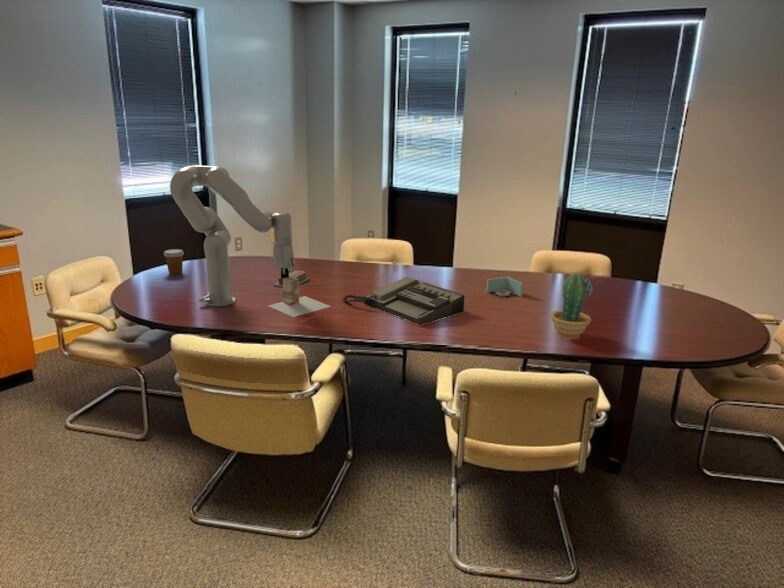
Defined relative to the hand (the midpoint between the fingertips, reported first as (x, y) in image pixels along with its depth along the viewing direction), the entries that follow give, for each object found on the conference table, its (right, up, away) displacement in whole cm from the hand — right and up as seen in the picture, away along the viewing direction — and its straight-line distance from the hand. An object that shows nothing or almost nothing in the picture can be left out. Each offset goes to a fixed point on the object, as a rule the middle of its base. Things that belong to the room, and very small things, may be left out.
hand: (285, 281), depth 248 cm
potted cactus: (+116, -22, -29) cm, 122 cm away
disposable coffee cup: (-64, +5, +41) cm, 76 cm away
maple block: (+3, -9, 0) cm, 10 cm away
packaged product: (-2, 0, +30) cm, 31 cm away
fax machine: (+51, -12, -1) cm, 52 cm away
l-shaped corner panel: (+101, -7, +19) cm, 103 cm away
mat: (+7, -11, -4) cm, 14 cm away
